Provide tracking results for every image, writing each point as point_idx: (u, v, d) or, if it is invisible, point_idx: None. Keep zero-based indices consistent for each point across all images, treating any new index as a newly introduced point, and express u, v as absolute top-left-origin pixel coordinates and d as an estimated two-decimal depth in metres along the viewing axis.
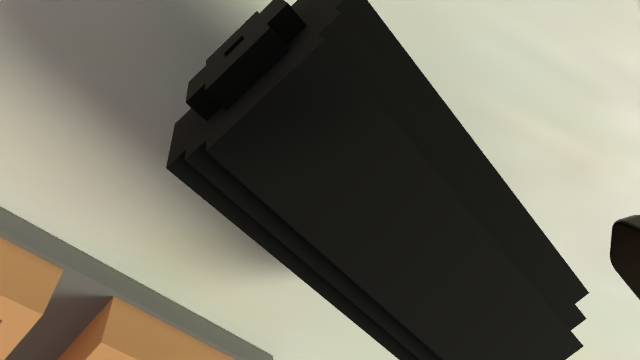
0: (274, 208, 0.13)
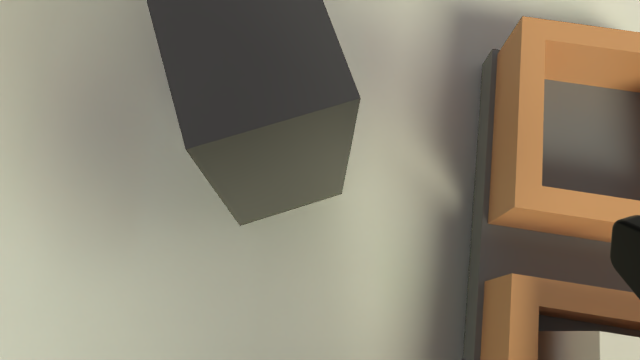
0: None
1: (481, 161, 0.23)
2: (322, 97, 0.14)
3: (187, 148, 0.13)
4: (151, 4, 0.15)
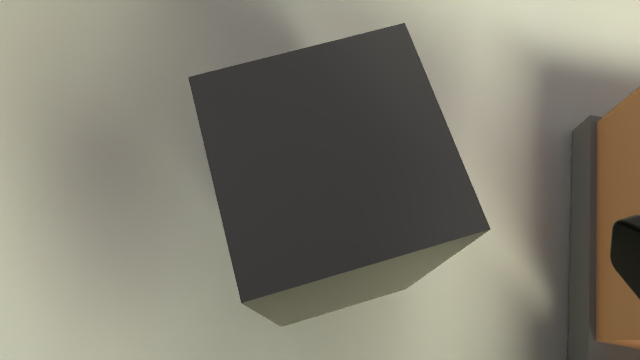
0: None
1: (580, 255, 0.19)
2: (435, 225, 0.10)
3: (243, 301, 0.09)
4: (195, 83, 0.11)
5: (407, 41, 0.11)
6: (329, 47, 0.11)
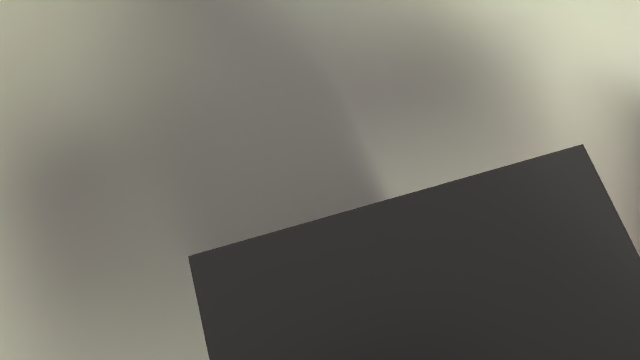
0: None
1: None
2: None
3: None
4: (200, 270, 0.06)
5: (592, 181, 0.06)
6: (449, 193, 0.06)
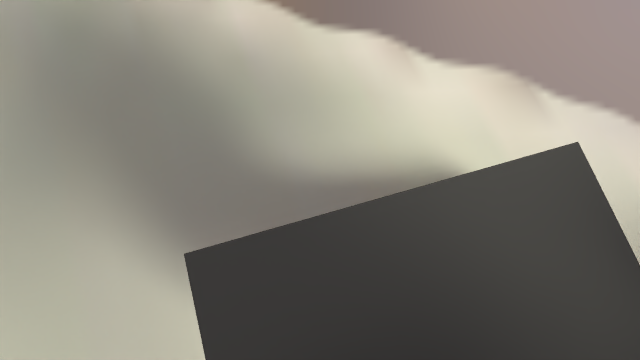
0: None
1: None
2: None
3: None
4: (196, 267, 0.06)
5: (588, 179, 0.06)
6: (444, 191, 0.06)
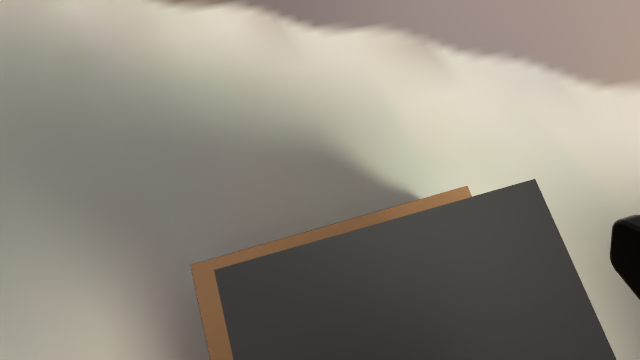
0: None
1: None
2: None
3: None
4: (224, 281, 0.07)
5: (542, 210, 0.07)
6: (425, 219, 0.07)
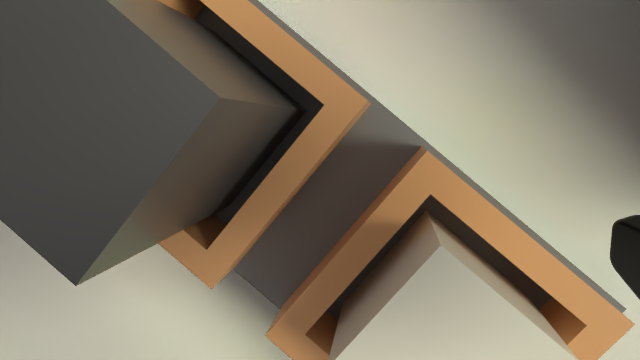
0: None
1: None
2: (175, 126, 0.09)
3: (76, 283, 0.10)
4: None
5: None
6: None
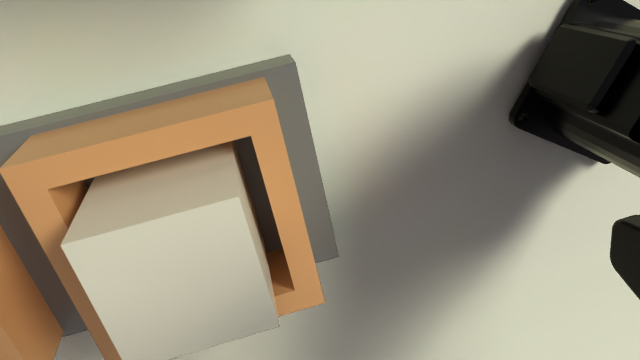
0: None
1: None
2: None
3: None
4: None
5: None
6: None
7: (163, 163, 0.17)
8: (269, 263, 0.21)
